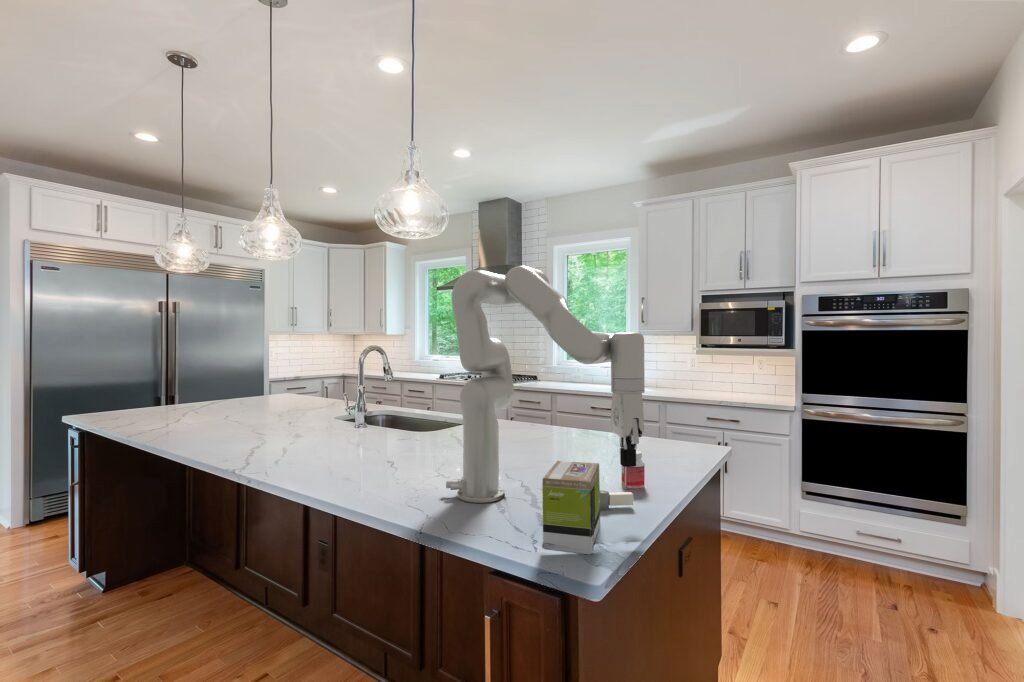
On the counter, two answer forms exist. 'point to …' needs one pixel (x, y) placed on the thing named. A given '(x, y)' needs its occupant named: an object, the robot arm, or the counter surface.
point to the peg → (615, 499)
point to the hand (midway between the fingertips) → (628, 465)
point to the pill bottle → (634, 474)
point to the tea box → (571, 507)
